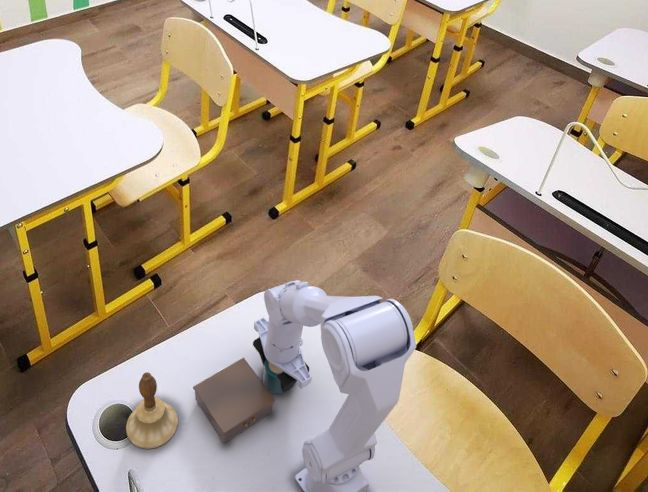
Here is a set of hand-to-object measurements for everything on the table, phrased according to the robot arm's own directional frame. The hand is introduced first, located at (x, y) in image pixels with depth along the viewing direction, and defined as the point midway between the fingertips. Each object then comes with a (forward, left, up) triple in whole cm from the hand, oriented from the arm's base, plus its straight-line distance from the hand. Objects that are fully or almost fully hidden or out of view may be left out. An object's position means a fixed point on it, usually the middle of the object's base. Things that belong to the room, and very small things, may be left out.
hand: (278, 376), depth 106 cm
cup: (0, 0, -1) cm, 1 cm away
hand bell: (+5, +22, -2) cm, 23 cm away
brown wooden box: (0, +9, -1) cm, 9 cm away
